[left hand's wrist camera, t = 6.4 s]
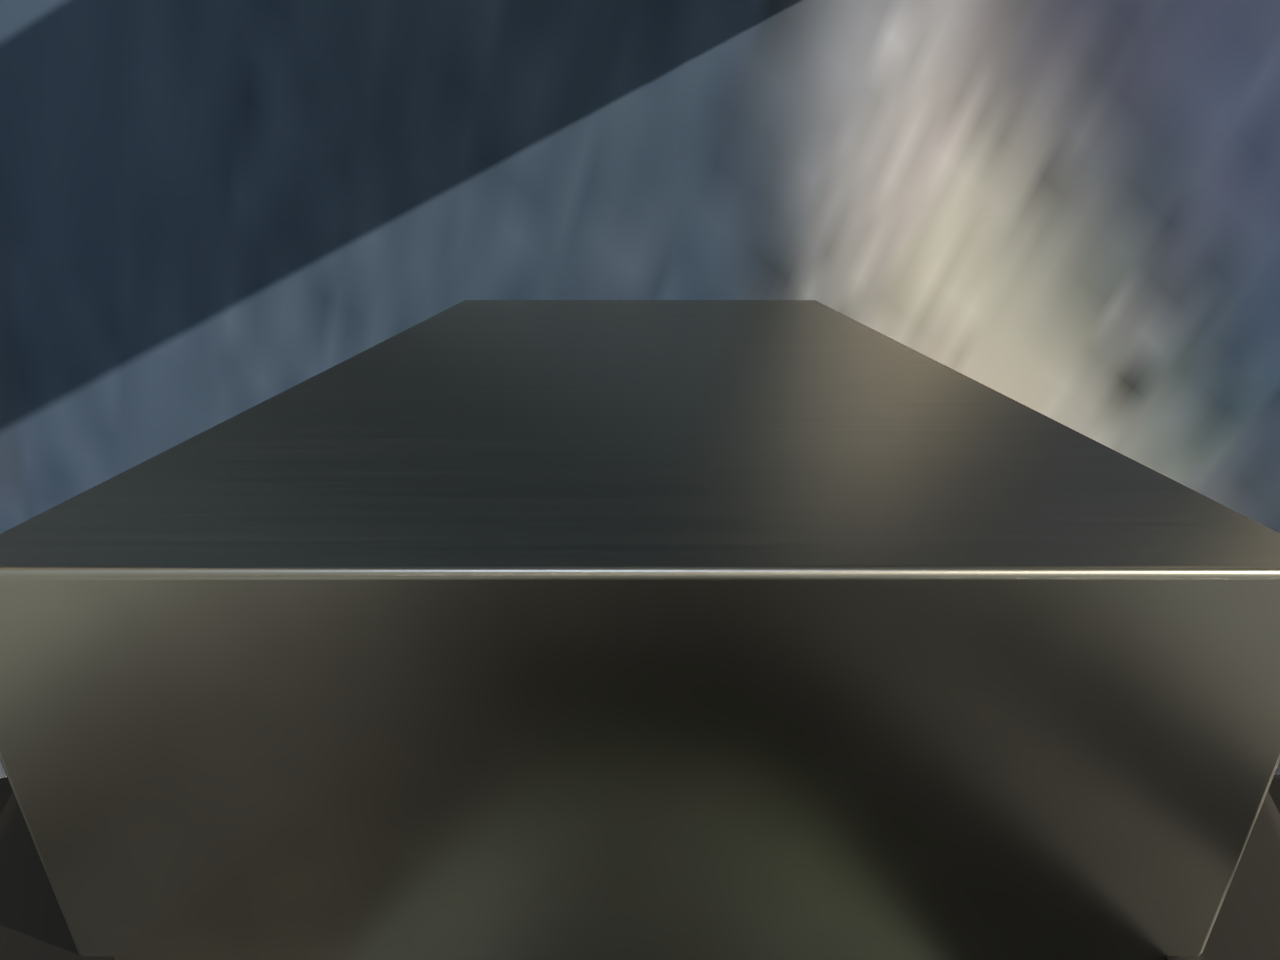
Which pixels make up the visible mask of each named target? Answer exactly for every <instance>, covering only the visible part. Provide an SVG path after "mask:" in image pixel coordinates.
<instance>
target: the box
mask: <svg viewBox="0 0 1280 960" xmlns="http://www.w3.org/2000/svg"><path fill="white" fill-rule="evenodd" d="M0 760H1V762H2V765H3V767H4V770H5V772H6V774H7V777H8V779H9V782H10V784H11V787H12V789H13V792H14V794H15V797H16V799H17V802H18V804H19V807H20V809H21V812H22V814H23V817H24V819H25V821H26V824H27V826H28V829H29V831H30V834H31V836H32V839H33V841H34V844H35V846H36V849H37V851H38V854H39V856H40V859H41V861H42V864H43V866H44V869H45V871H46V873H47V876H48V878H49V881H50V883H51V886H52V888H53V891H54V893H55V896H56V898H57V901H58V903H59V906H60V908H61V911H62V913H63V916H64V918H65V921H66V923H67V925H68V928H69V930H70V933H71V935H72V938H73V940H74V943H75V945H76V948H77V950H78V953H79V954H80V955H82V956H113V957H114V960H1166V958H1167V956H1198V955H1200V954H1202V953H1203V950H1204V948H1205V945H1206V943H1207V940H1208V938H1209V935H1210V933H1211V930H1212V928H1213V925H1214V923H1215V920H1216V918H1217V916H1218V913H1219V911H1220V908H1221V906H1222V903H1223V901H1224V898H1225V896H1226V893H1227V891H1228V888H1229V886H1230V883H1231V881H1232V878H1233V876H1234V874H1235V871H1236V869H1237V866H1238V864H1239V861H1240V859H1241V856H1242V854H1243V851H1244V849H1245V846H1246V844H1247V841H1248V839H1249V836H1250V834H1251V831H1252V829H1253V827H1254V824H1255V822H1256V819H1257V817H1258V814H1259V812H1260V809H1261V807H1262V804H1263V802H1264V799H1265V797H1266V794H1267V792H1268V789H1269V787H1270V785H1271V782H1272V780H1273V777H1274V775H1275V772H1276V770H1277V767H1278V765H1279V762H1280V534H1279V533H1277V532H1276V531H1274V530H1272V529H1270V528H1268V527H1266V526H1264V525H1262V524H1260V523H1258V522H1256V521H1254V520H1252V519H1250V518H1248V517H1246V516H1244V515H1242V514H1240V513H1238V512H1236V511H1234V510H1232V509H1230V508H1228V507H1226V506H1224V505H1222V504H1220V503H1218V502H1216V501H1214V500H1212V499H1210V498H1208V497H1206V496H1204V495H1202V494H1200V493H1198V492H1196V491H1194V490H1192V489H1190V488H1188V487H1186V486H1184V485H1182V484H1180V483H1178V482H1176V481H1174V480H1172V479H1170V478H1168V477H1166V476H1164V475H1162V474H1160V473H1158V472H1156V471H1154V470H1152V469H1150V468H1148V467H1146V466H1144V465H1142V464H1140V463H1138V462H1136V461H1134V460H1132V459H1130V458H1128V457H1126V456H1124V455H1122V454H1120V453H1118V452H1116V451H1114V450H1112V449H1110V448H1108V447H1106V446H1104V445H1102V444H1100V443H1098V442H1096V441H1094V440H1092V439H1090V438H1088V437H1086V436H1084V435H1082V434H1080V433H1078V432H1076V431H1074V430H1072V429H1070V428H1068V427H1066V426H1064V425H1062V424H1060V423H1058V422H1056V421H1054V420H1052V419H1050V418H1048V417H1047V416H1045V415H1043V414H1041V413H1039V412H1037V411H1035V410H1033V409H1031V408H1029V407H1027V406H1025V405H1023V404H1021V403H1019V402H1017V401H1015V400H1013V399H1011V398H1009V397H1007V396H1005V395H1003V394H1001V393H999V392H997V391H995V390H993V389H991V388H989V387H987V386H985V385H983V384H981V383H979V382H977V381H975V380H973V379H971V378H969V377H967V376H965V375H963V374H961V373H959V372H957V371H955V370H953V369H951V368H949V367H947V366H945V365H943V364H941V363H939V362H937V361H935V360H933V359H931V358H929V357H927V356H925V355H923V354H921V353H919V352H917V351H915V350H913V349H911V348H909V347H907V346H905V345H903V344H901V343H899V342H897V341H895V340H893V339H891V338H889V337H887V336H885V335H883V334H881V333H879V332H877V331H875V330H873V329H871V328H869V327H867V326H865V325H863V324H861V323H859V322H857V321H855V320H853V319H851V318H849V317H847V316H845V315H843V314H841V313H839V312H837V311H835V310H833V309H831V308H829V307H827V306H825V305H823V304H821V303H819V302H818V301H815V300H465V301H463V302H461V303H459V304H457V305H455V306H453V307H451V308H449V309H447V310H445V311H443V312H441V313H439V314H437V315H435V316H433V317H431V318H429V319H427V320H425V321H423V322H421V323H419V324H417V325H415V326H413V327H411V328H409V329H407V330H405V331H403V332H401V333H399V334H397V335H395V336H393V337H391V338H389V339H387V340H385V341H383V342H381V343H379V344H377V345H375V346H373V347H371V348H369V349H367V350H365V351H363V352H362V353H360V354H358V355H356V356H354V357H352V358H350V359H348V360H346V361H344V362H342V363H340V364H338V365H336V366H334V367H332V368H330V369H328V370H326V371H324V372H322V373H320V374H318V375H316V376H314V377H312V378H310V379H308V380H306V381H304V382H302V383H300V384H298V385H296V386H294V387H292V388H290V389H288V390H286V391H284V392H282V393H280V394H278V395H276V396H274V397H272V398H270V399H268V400H266V401H264V402H262V403H260V404H258V405H256V406H254V407H252V408H250V409H248V410H246V411H244V412H242V413H240V414H238V415H236V416H234V417H232V418H230V419H228V420H226V421H224V422H222V423H220V424H218V425H216V426H214V427H212V428H210V429H208V430H206V431H204V432H202V433H200V434H198V435H196V436H194V437H192V438H190V439H188V440H186V441H184V442H182V443H180V444H178V445H176V446H174V447H172V448H170V449H168V450H166V451H164V452H162V453H161V454H159V455H157V456H155V457H153V458H151V459H149V460H147V461H145V462H143V463H141V464H139V465H137V466H135V467H133V468H131V469H129V470H127V471H125V472H123V473H121V474H119V475H117V476H115V477H113V478H111V479H109V480H107V481H105V482H103V483H101V484H99V485H97V486H95V487H93V488H91V489H89V490H87V491H85V492H83V493H81V494H79V495H77V496H75V497H73V498H71V499H69V500H67V501H65V502H63V503H61V504H59V505H57V506H55V507H53V508H51V509H49V510H47V511H45V512H43V513H41V514H39V515H37V516H35V517H33V518H31V519H29V520H27V521H25V522H23V523H21V524H19V525H17V526H15V527H13V528H11V529H9V530H7V531H5V532H3V533H1V534H0Z"/></svg>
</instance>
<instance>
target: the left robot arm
mask: <svg viewBox="0 0 1280 960" xmlns="http://www.w3.org/2000/svg"><path fill="white" fill-rule="evenodd" d="M0 960H114V957H113V956H82V955H80V954H79V953H78V950H77V948H76V945H75V943H74V940H73V938H72V935H71V933H70V930H69V928H68V925H67V923H66V921H65V918H64V916H63V913H62V911H61V908H60V906H59V903H58V901H57V898H56V896H55V893H54V891H53V888H52V886H51V883H50V881H49V878H48V876H47V873H46V871H45V869H44V866H43V864H42V861H41V859H40V856H39V854H38V851H37V849H36V846H35V844H34V841H33V839H32V836H31V834H30V831H29V829H28V826H27V824H26V821H25V819H24V817H23V814H22V812H21V809H20V807H19V804H18V802H17V799H16V797H15V794H14V792H13V789H12V787H11V784H10V782H9V779H8V777H6V778H2V779H0ZM1166 960H1280V775H1274V777H1273V780H1272V782H1271V785H1270V787H1269V789H1268V792H1267V794H1266V797H1265V799H1264V802H1263V804H1262V807H1261V809H1260V812H1259V814H1258V817H1257V819H1256V822H1255V824H1254V827H1253V829H1252V831H1251V834H1250V836H1249V839H1248V841H1247V844H1246V846H1245V849H1244V851H1243V854H1242V856H1241V859H1240V861H1239V864H1238V866H1237V869H1236V871H1235V874H1234V876H1233V878H1232V881H1231V883H1230V886H1229V888H1228V891H1227V893H1226V896H1225V898H1224V901H1223V903H1222V906H1221V908H1220V911H1219V913H1218V916H1217V918H1216V920H1215V923H1214V925H1213V928H1212V930H1211V933H1210V935H1209V938H1208V940H1207V943H1206V945H1205V948H1204V950H1203V953H1202V954H1200V955H1198V956H1167V958H1166Z"/></svg>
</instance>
